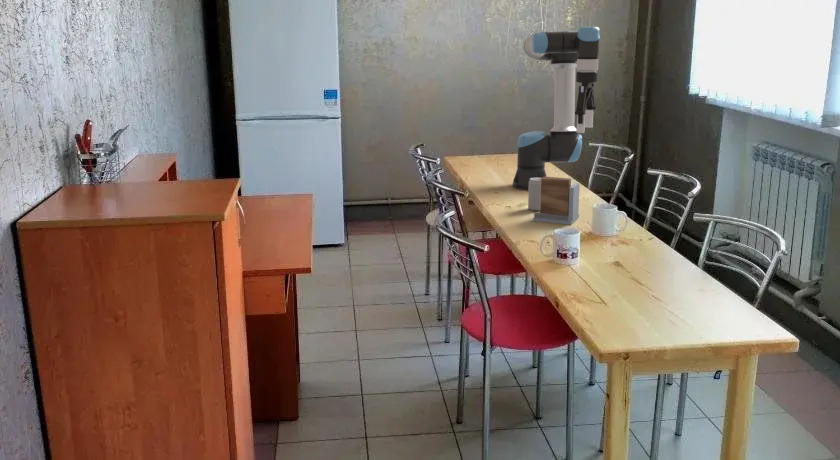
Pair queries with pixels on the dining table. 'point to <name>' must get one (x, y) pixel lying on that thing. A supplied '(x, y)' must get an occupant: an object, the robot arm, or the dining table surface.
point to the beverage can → (534, 194)
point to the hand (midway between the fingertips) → (584, 130)
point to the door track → (563, 218)
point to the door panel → (555, 195)
